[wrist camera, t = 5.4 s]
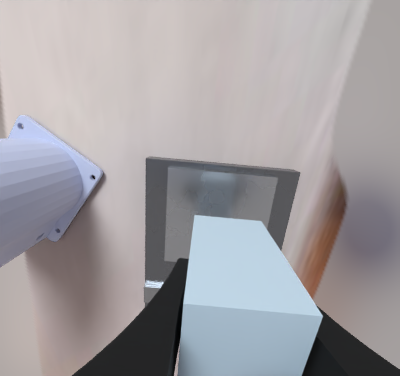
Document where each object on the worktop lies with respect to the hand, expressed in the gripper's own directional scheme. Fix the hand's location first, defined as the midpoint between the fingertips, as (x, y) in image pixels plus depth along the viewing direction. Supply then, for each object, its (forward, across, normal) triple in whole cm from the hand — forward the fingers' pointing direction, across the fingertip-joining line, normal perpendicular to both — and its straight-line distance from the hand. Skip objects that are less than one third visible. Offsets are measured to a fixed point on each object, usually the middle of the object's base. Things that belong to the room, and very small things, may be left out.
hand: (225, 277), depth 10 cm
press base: (+8, 0, +4) cm, 9 cm away
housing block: (+2, 0, 0) cm, 2 cm away
